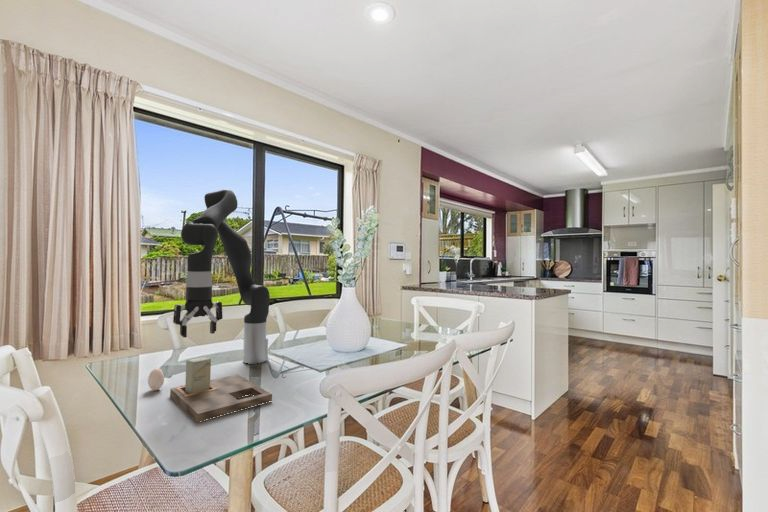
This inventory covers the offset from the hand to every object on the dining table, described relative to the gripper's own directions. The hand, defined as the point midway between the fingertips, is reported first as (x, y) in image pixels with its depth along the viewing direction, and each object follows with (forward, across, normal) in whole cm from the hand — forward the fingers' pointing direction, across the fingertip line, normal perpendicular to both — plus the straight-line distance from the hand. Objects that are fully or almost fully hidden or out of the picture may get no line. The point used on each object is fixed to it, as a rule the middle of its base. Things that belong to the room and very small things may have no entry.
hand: (198, 335), depth 119 cm
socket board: (+20, -5, +7) cm, 22 cm away
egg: (+20, +8, -15) cm, 27 cm away
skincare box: (+20, 0, 0) cm, 20 cm away
